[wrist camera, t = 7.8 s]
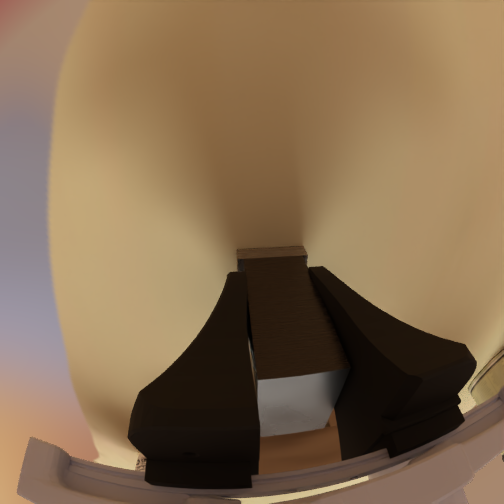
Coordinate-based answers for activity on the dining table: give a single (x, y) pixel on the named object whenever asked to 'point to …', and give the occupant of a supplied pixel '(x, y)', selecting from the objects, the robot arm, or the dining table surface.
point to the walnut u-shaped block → (300, 449)
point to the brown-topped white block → (290, 342)
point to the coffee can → (489, 381)
